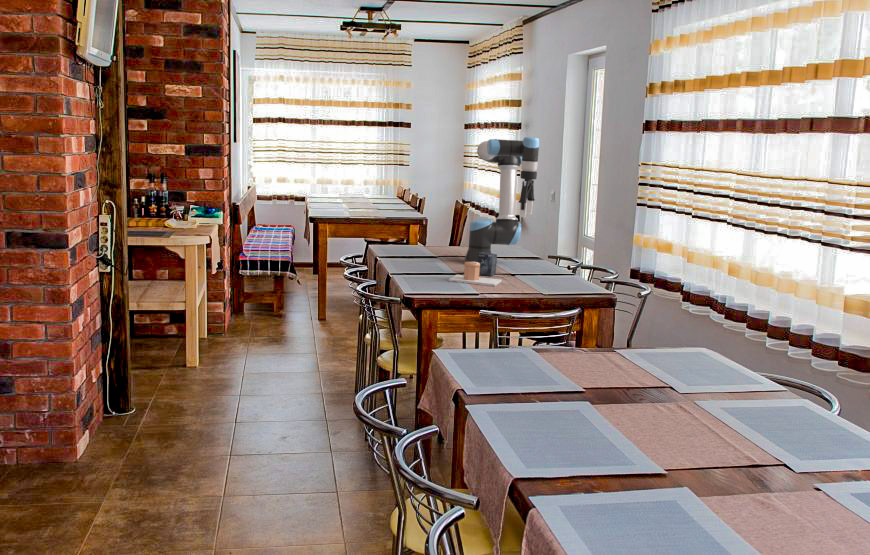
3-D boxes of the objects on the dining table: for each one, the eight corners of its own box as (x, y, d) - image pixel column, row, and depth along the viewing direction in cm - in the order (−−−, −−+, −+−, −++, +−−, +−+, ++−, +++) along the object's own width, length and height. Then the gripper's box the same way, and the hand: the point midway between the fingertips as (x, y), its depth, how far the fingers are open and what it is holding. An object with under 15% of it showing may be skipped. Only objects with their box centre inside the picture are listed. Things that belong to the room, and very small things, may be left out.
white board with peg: (456, 276, 403) (457, 263, 402) (501, 281, 396) (502, 268, 395) (448, 281, 391) (449, 267, 390) (494, 286, 384) (495, 272, 383)
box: (476, 274, 412) (477, 253, 410) (481, 273, 417) (482, 251, 415) (490, 276, 408) (492, 255, 406) (495, 275, 413) (497, 253, 411)
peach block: (460, 278, 394) (461, 260, 393) (471, 276, 399) (472, 260, 398) (471, 280, 389) (472, 263, 388) (482, 279, 394) (483, 262, 392)
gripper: (526, 169, 408) (523, 212, 412) (515, 170, 385) (511, 217, 389) (542, 170, 406) (538, 214, 410) (531, 172, 383) (527, 218, 387)
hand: (525, 215), depth 399 cm, fingers open, 13 cm apart
